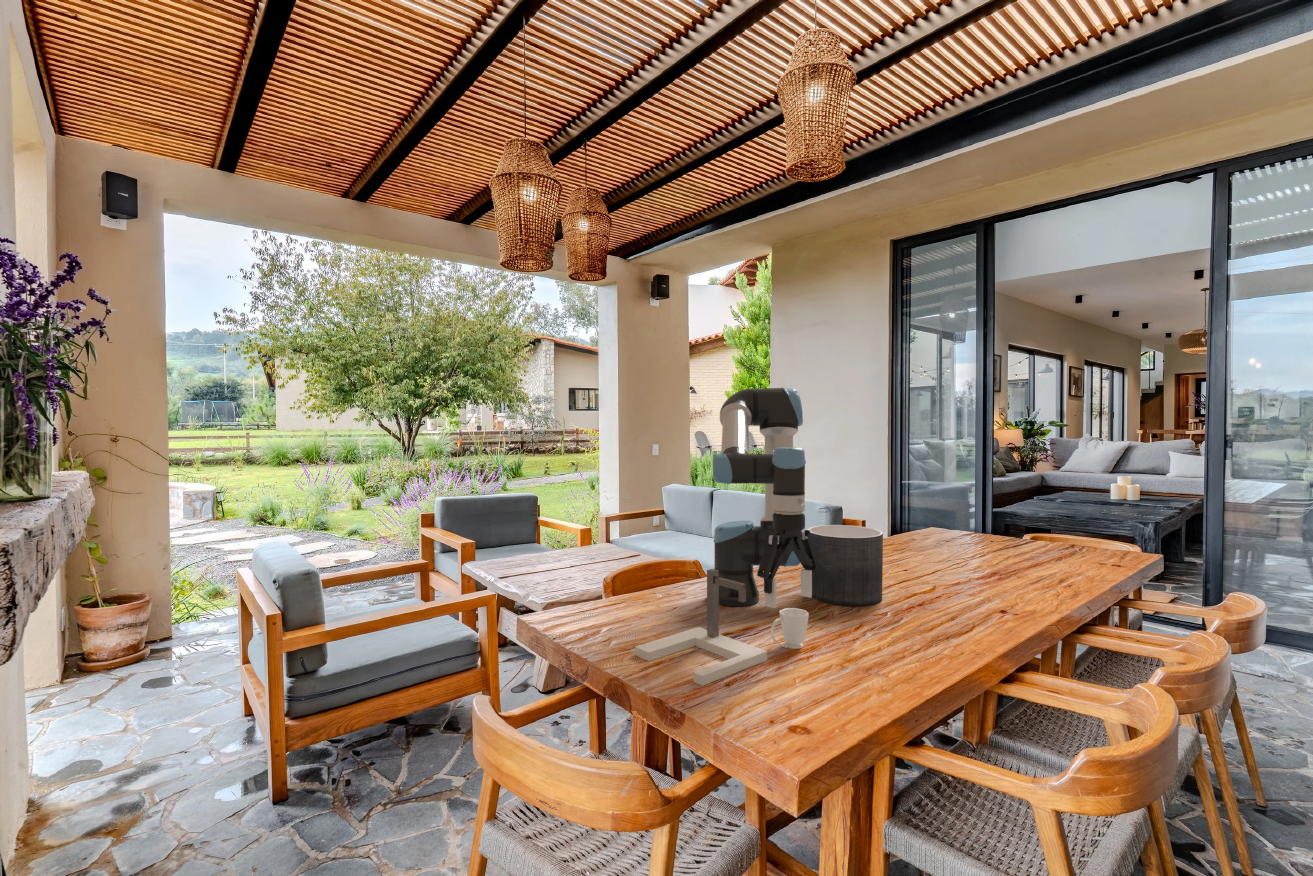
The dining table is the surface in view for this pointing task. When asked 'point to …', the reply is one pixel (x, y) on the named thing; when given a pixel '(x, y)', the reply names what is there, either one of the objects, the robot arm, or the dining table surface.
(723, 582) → the hook arm
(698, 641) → the flat u-shaped bracket
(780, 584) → the dining table surface
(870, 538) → the planter
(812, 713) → the dining table surface
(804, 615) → the cup
